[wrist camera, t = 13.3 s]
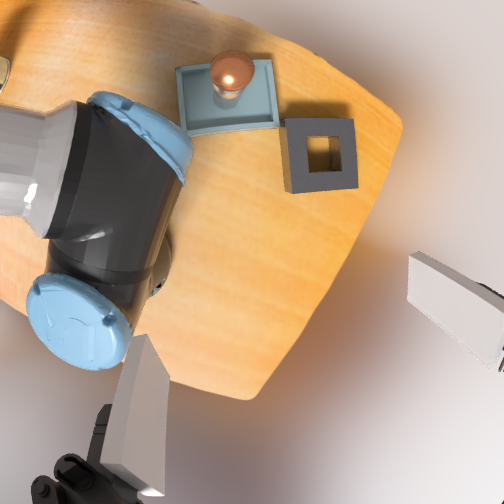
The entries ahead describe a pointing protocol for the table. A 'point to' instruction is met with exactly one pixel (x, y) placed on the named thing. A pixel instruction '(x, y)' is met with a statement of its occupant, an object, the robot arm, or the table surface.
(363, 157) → the table surface
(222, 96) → the pin
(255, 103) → the tray
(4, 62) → the coffee can
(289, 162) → the block
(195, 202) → the table surface
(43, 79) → the table surface
